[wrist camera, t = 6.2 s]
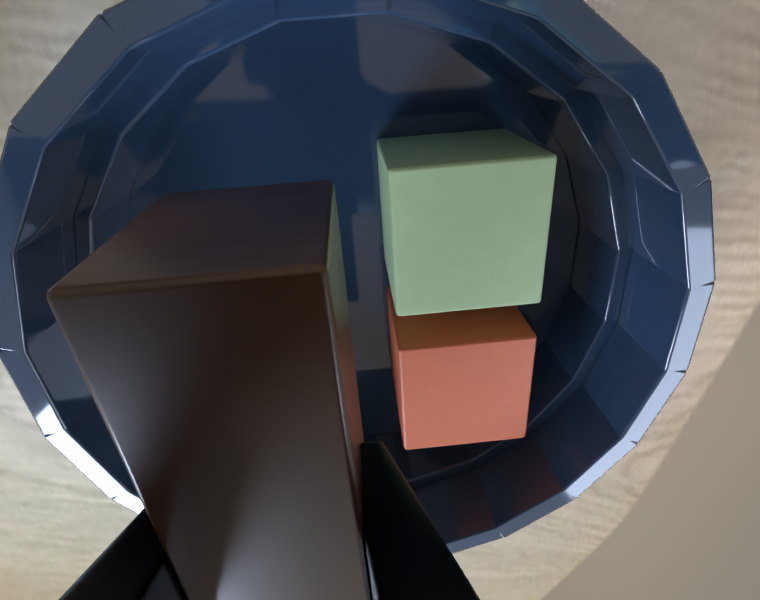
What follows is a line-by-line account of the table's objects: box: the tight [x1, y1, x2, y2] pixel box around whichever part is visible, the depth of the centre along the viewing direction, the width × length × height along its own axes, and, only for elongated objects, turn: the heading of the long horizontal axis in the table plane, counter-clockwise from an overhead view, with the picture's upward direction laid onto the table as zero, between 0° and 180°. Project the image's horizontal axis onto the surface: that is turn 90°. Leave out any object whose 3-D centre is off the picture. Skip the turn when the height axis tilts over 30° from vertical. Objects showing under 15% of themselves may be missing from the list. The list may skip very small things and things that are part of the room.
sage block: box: [377, 128, 557, 316], centre depth 12 cm, size 4×4×4 cm
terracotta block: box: [387, 286, 537, 450], centre depth 14 cm, size 4×4×4 cm
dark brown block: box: [47, 180, 372, 600], centre depth 7 cm, size 2×9×3 cm, turn 4°
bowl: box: [0, 0, 715, 554], centre depth 13 cm, size 15×15×5 cm
